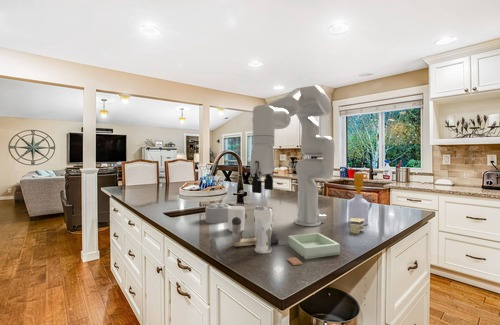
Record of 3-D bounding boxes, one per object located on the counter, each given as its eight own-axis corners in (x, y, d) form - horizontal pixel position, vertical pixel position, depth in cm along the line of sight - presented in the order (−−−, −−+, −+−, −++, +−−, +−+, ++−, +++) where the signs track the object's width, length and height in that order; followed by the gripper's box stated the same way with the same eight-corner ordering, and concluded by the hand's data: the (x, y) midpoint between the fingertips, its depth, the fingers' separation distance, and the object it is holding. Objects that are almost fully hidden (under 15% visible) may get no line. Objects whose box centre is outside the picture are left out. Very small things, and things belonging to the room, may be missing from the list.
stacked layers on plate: (366, 237, 104) (366, 223, 104) (343, 233, 109) (343, 220, 109) (369, 230, 113) (369, 218, 113) (348, 227, 117) (348, 216, 117)
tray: (318, 241, 98) (318, 232, 98) (339, 254, 85) (339, 244, 85) (287, 245, 94) (287, 235, 94) (305, 259, 81) (305, 248, 81)
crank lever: (275, 238, 100) (275, 212, 99) (280, 242, 95) (280, 215, 95) (230, 243, 94) (230, 215, 94) (233, 247, 90) (233, 219, 89)
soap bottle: (348, 224, 122) (348, 173, 121) (348, 219, 130) (349, 172, 129) (368, 226, 118) (369, 174, 118) (367, 221, 127) (368, 172, 126)
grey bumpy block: (233, 221, 127) (233, 204, 127) (209, 224, 121) (209, 206, 121) (226, 216, 136) (226, 200, 136) (202, 219, 130) (202, 203, 130)
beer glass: (259, 255, 84) (259, 211, 84) (249, 248, 90) (249, 207, 90) (276, 252, 87) (277, 208, 87) (266, 245, 93) (266, 205, 93)
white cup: (242, 232, 108) (242, 209, 108) (225, 231, 110) (225, 208, 110) (246, 227, 116) (246, 206, 116) (230, 226, 118) (230, 205, 117)
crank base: (277, 238, 102) (277, 236, 102) (309, 263, 78) (309, 261, 78) (258, 240, 99) (258, 238, 99) (285, 266, 76) (285, 264, 76)
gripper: (263, 143, 97) (263, 187, 97) (241, 140, 81) (241, 193, 82) (282, 142, 93) (281, 189, 94) (262, 140, 78) (262, 195, 78)
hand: (262, 191), depth 88 cm, fingers open, 9 cm apart
